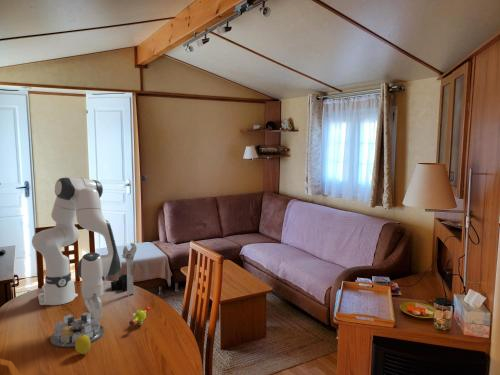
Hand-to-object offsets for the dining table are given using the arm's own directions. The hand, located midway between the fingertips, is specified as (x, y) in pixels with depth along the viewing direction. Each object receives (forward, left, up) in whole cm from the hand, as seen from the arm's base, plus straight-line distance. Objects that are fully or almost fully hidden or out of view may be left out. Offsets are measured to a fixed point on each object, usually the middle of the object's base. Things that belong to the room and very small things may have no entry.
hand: (93, 320), depth 172 cm
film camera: (-40, +31, -5) cm, 51 cm away
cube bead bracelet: (0, -7, -3) cm, 8 cm away
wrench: (-26, +30, -5) cm, 40 cm away
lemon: (+17, -11, -5) cm, 21 cm away
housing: (0, -7, -5) cm, 8 cm away
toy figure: (+8, +18, -5) cm, 20 cm away
